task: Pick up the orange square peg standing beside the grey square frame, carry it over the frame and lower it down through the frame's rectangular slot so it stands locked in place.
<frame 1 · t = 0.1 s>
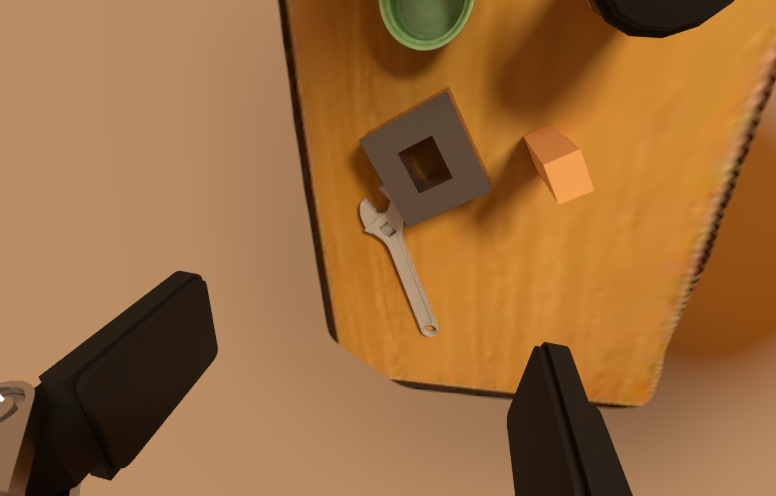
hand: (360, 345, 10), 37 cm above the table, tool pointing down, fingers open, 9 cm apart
adjustable wrench: (402, 263, 53), on the table
grey square frame: (428, 154, 44), on the table
ramekin: (429, 1, 37), on the table
orange square peg: (542, 146, 42), on the table
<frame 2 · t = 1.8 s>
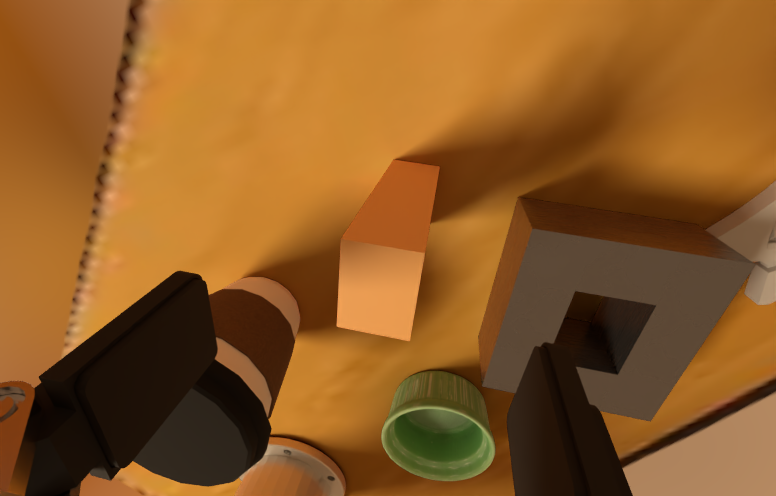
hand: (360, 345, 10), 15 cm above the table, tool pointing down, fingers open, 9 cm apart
coffee cup: (267, 305, 31), on the table
grey square frame: (573, 287, 25), on the table
ramekin: (439, 399, 33), on the table
orange square peg: (412, 192, 24), on the table
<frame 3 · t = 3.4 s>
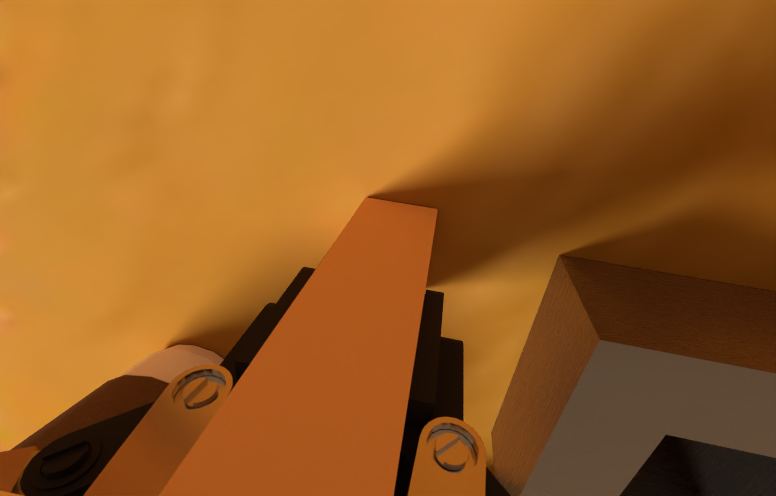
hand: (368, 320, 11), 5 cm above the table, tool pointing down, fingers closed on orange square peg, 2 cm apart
coffee cup: (205, 378, 23), on the table
grey square frame: (635, 381, 17), on the table
orange square peg: (395, 245, 16), on the table, touching gripper
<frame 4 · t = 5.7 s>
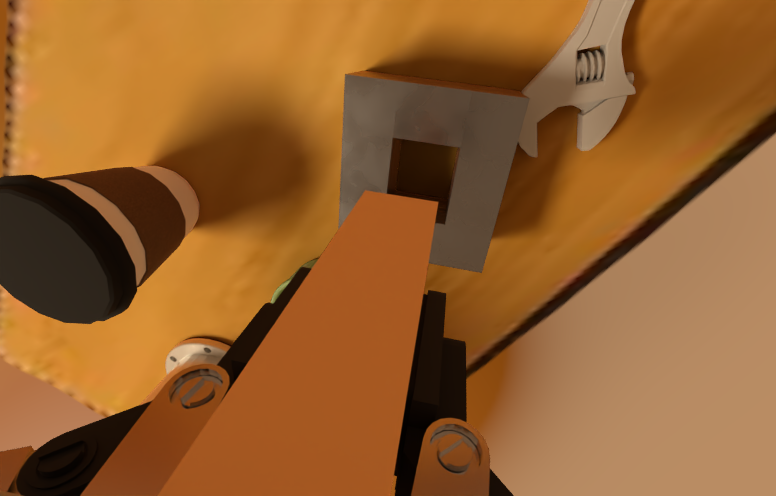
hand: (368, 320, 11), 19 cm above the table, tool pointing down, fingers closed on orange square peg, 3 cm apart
coffee cup: (171, 198, 34), on the table
grey square frame: (426, 162, 28), on the table
orange square peg: (396, 239, 16), point 14 cm above the table, touching gripper
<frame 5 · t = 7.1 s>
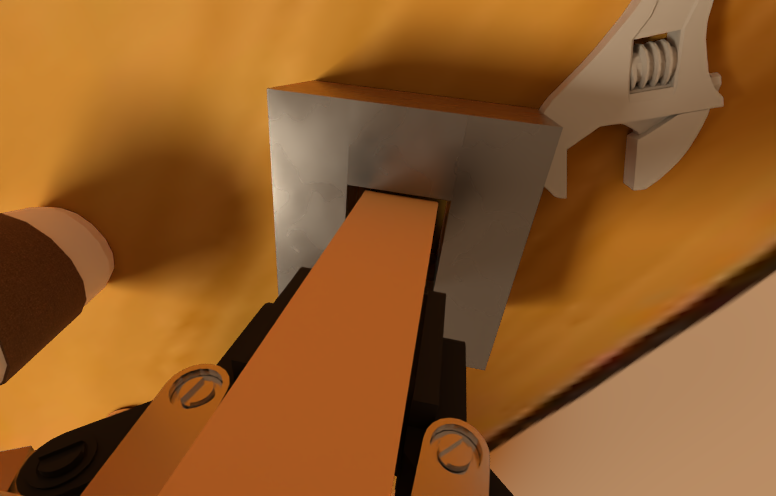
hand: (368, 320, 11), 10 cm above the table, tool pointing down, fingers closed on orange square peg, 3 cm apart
coffee cup: (77, 245, 26), on the table
grey square frame: (406, 207, 20), on the table
orange square peg: (396, 239, 16), point 5 cm above the table, touching gripper
when the fingers open (6 cm above the table, at t = 8.0 s): orange square peg moves 1 cm, resting in grey square frame.
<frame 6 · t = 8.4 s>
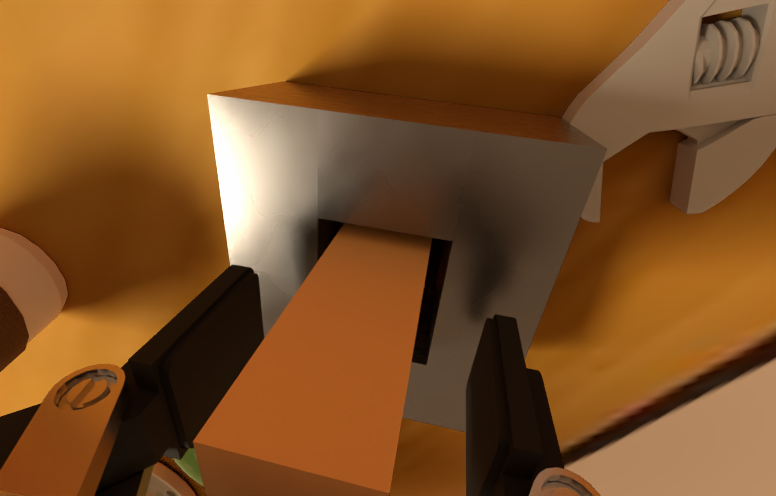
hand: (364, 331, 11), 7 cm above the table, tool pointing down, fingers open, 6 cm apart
coffee cup: (25, 269, 23), on the table
grey square frame: (399, 233, 17), on the table
ramekin: (274, 398, 25), on the table
orange square peg: (398, 232, 17), resting in grey square frame
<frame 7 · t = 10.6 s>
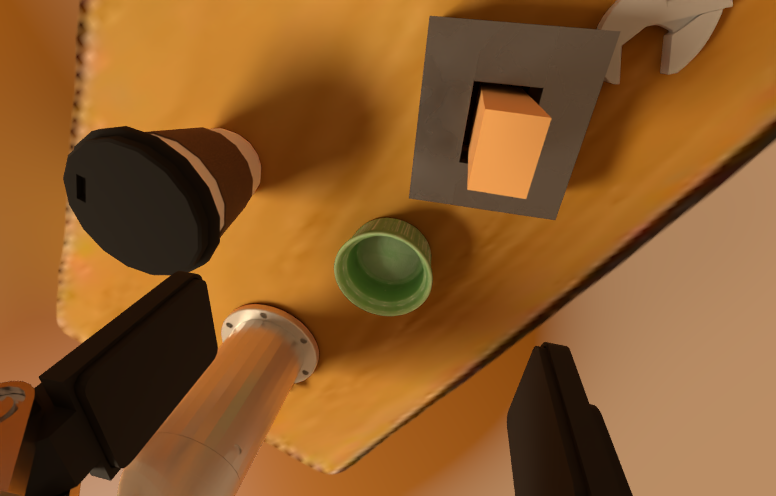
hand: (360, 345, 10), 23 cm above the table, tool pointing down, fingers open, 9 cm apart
coffee cup: (233, 162, 35), on the table
grey square frame: (494, 114, 28), on the table
ramekin: (391, 251, 36), on the table
orange square peg: (494, 113, 28), resting in grey square frame
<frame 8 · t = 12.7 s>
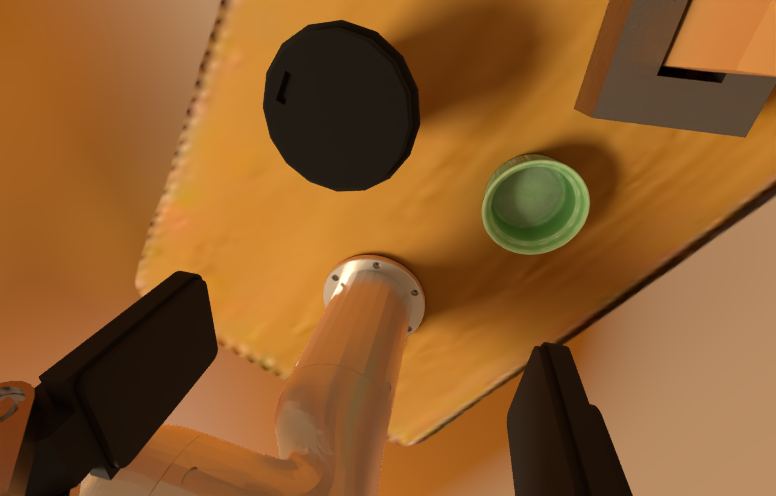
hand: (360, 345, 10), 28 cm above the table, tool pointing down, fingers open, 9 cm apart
coffee cup: (374, 97, 34), on the table
grey square frame: (670, 38, 28), on the table
ramekin: (526, 193, 36), on the table
orange square peg: (670, 37, 28), resting in grey square frame
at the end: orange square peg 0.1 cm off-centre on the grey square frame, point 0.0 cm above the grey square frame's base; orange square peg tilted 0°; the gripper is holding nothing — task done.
